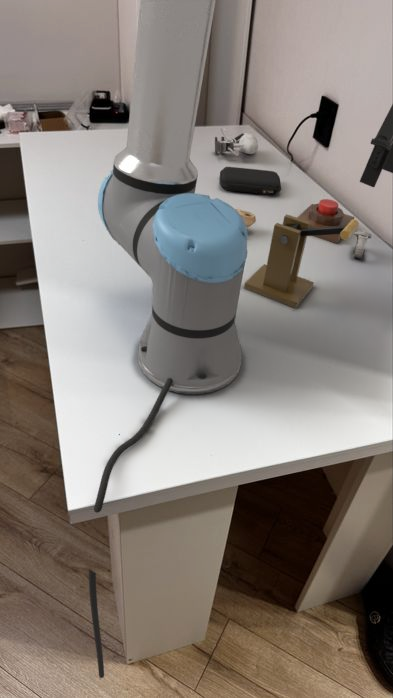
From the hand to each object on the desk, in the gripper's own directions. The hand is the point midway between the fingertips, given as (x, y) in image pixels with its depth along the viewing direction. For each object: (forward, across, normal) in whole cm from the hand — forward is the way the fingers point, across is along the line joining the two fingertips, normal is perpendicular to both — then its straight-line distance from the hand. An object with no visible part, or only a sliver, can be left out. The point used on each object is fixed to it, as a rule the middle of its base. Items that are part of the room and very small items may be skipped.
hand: (377, 177), depth 99 cm
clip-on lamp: (+16, +33, +44) cm, 57 cm away
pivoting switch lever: (+6, -22, +1) cm, 23 cm away
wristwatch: (+16, 0, -2) cm, 16 cm away
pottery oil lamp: (+19, -10, +23) cm, 31 cm away
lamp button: (+12, +6, +8) cm, 16 cm away
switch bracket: (+18, -21, +5) cm, 28 cm away
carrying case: (+17, +14, +30) cm, 37 cm away
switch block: (+16, +6, +8) cm, 18 cm away
